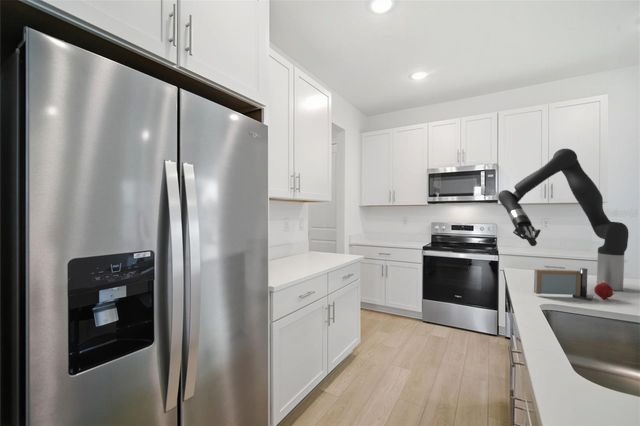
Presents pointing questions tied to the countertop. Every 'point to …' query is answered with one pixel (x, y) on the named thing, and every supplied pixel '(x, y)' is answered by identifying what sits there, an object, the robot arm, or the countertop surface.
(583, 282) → the post
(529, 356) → the countertop surface
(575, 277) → the wooden picture frame
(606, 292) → the onion
